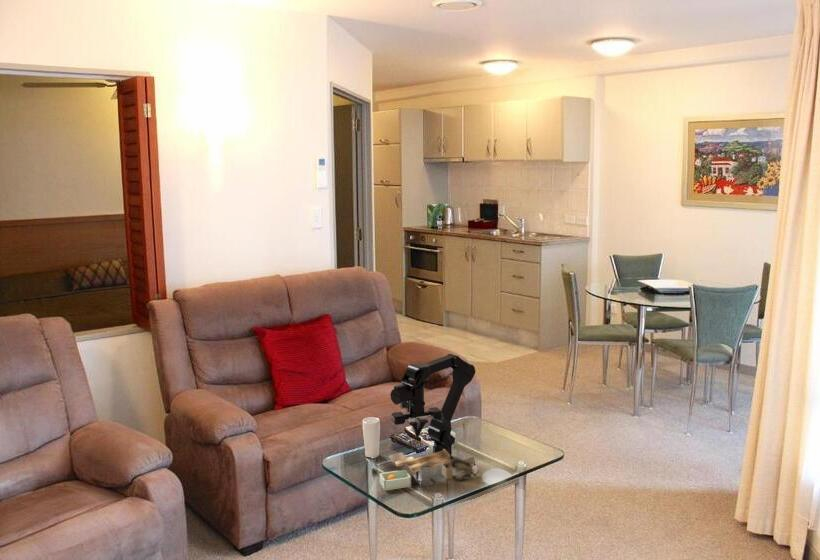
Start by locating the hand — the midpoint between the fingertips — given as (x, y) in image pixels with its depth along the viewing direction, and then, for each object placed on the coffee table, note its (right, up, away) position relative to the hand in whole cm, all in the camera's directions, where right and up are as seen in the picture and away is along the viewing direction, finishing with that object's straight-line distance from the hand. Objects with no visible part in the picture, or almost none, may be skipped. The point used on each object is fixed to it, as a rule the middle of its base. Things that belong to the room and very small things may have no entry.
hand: (417, 437), depth 276 cm
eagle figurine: (+18, -14, -6) cm, 23 cm away
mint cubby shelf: (-8, -15, -11) cm, 20 cm away
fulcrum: (+6, -14, -7) cm, 16 cm away
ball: (-9, -13, -12) cm, 20 cm away
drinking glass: (-18, -10, +12) cm, 24 cm away
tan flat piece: (+1, -8, -6) cm, 10 cm away
